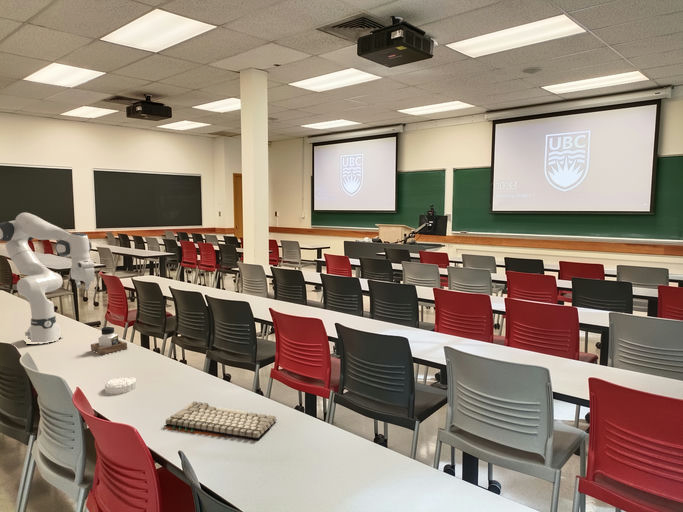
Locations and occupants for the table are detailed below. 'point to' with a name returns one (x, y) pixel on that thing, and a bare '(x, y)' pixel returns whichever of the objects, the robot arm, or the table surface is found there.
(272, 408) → the table surface
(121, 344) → the brown wooden tray
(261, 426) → the mechanical keyboard
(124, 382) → the mooncake
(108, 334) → the medicine bottle
